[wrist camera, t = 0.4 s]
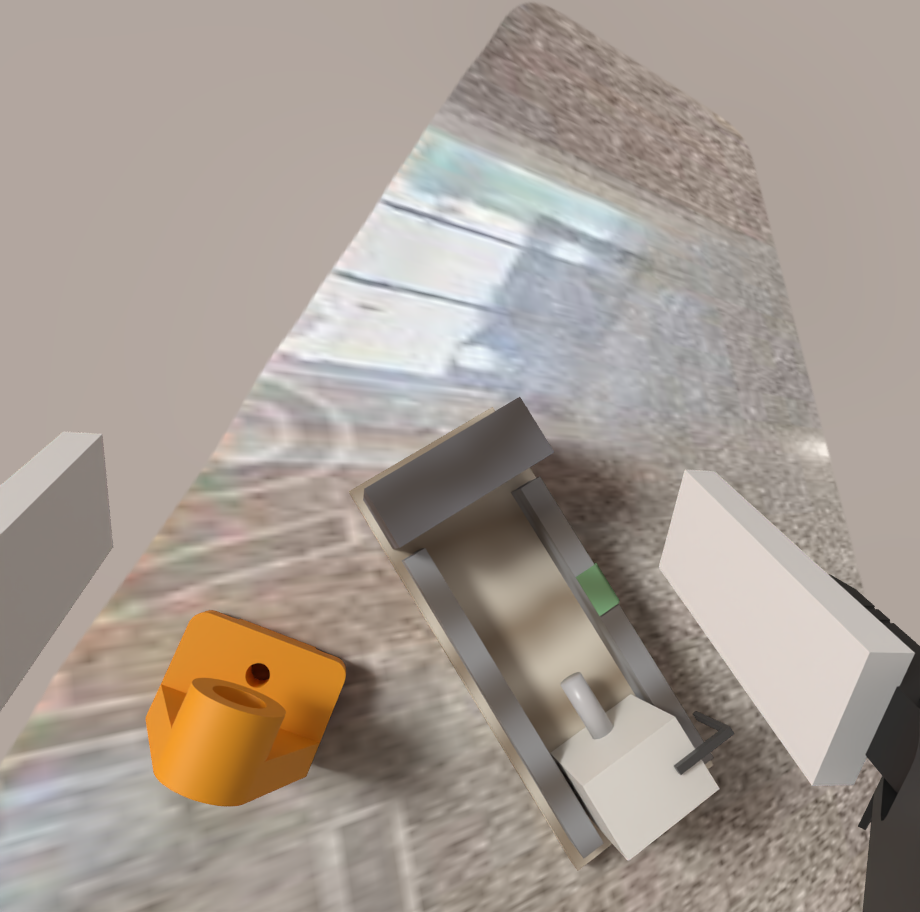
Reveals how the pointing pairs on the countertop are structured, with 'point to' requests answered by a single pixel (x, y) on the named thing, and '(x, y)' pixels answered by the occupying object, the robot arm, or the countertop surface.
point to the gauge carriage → (634, 766)
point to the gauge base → (513, 599)
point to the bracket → (239, 711)
